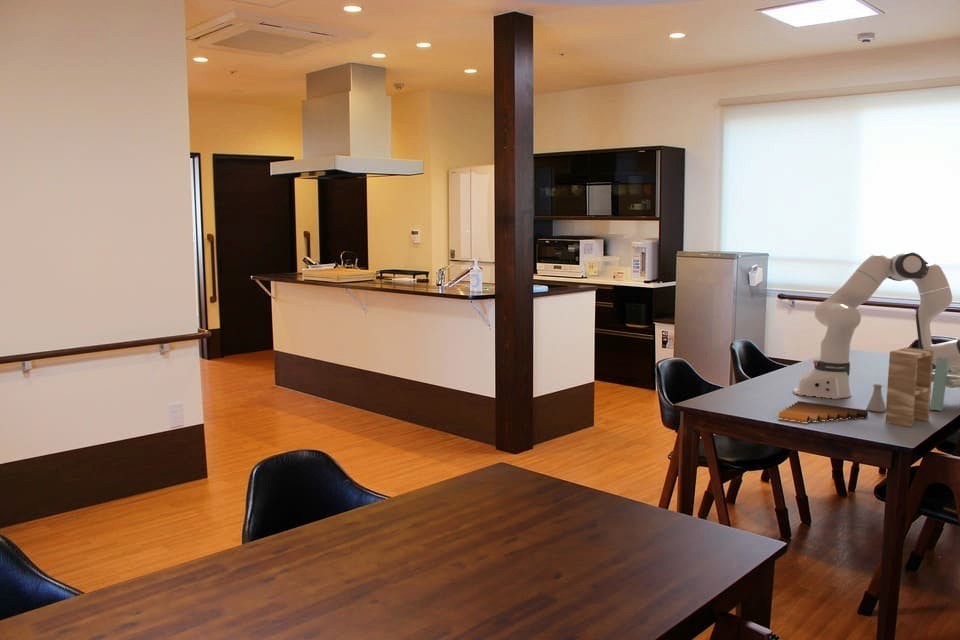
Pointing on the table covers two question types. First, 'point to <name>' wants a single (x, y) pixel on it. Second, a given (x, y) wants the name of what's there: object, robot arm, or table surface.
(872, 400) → the flask
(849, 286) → the robot arm
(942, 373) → the mint green bar
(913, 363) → the rack
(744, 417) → the table surface
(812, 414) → the pan flute
